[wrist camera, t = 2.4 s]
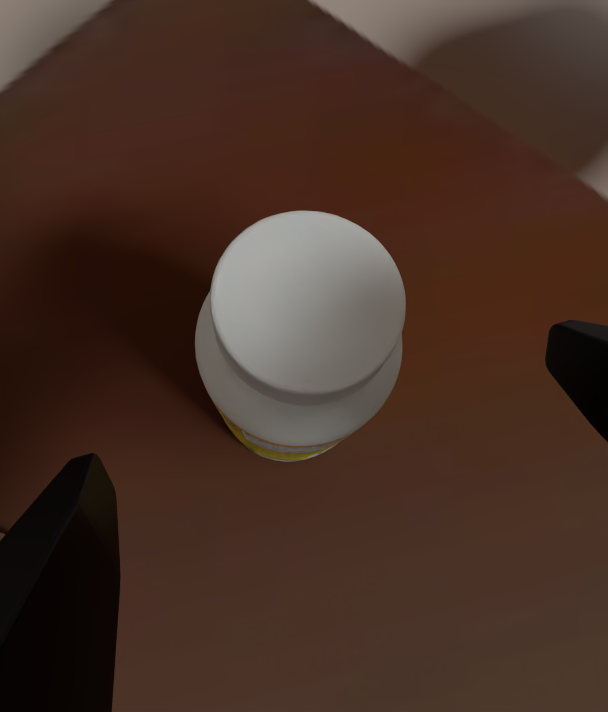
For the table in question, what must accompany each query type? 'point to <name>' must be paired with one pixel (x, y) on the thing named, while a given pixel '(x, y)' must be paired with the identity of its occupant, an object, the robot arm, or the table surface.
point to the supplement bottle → (301, 333)
